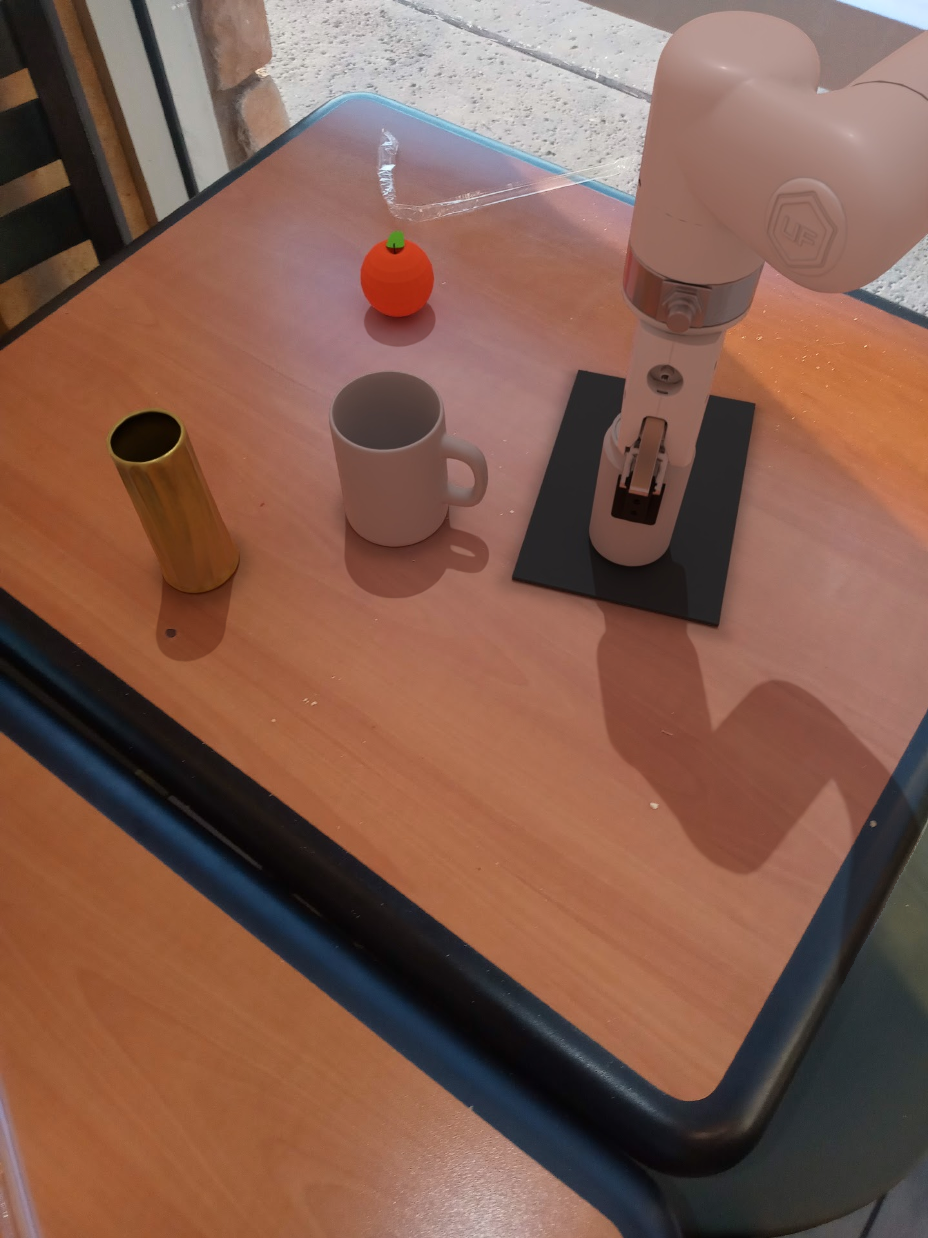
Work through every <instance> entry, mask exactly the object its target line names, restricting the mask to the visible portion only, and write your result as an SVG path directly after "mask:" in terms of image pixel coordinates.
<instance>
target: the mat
mask: <svg viewBox="0 0 928 1238" xmlns="http://www.w3.org/2000/svg"><path fill="white" fill-rule="evenodd" d="M625 382H626V377H620V376H614V375H609V374H606V373H605V374H604V373H600V372H593V371H589V370H583V369H578V370H577V373H576V376H575V379H574V382H573V385H572V389H571V391H570V395H569V398H568V401H567V404H566V407H565V410H564V413H563V417H562V419H561V423H560V426H559V429H558V432H557V435H556V438H555V441H554V444H553V447H552V451H551V454H550V456H549V460H548V463H547V466H546V470H545V473H544V475H543V479H542V482H541V485H540V488H539V490H538V494H537V498H536V501H535V504H534V506H533V510H532V513H531V516H530V519H529V522H528V525H527V529H526V532H525V534H524V538H523V542H522V544H521V548H520V549H519V550H520V551H519V554H518V557H517V560H516V562H515V566H514V569H513V572H512V575H511V580H513V581H518V582H522V583H526V584H530V585H535V586H539V587H544V588H548V589H552V590H557V591H560V592H565V593H570V594H574V595H579V596H582V597H586V598H590V599H595V600H599V601H604V602H609V603H613V604H616V605H622V606H626V607H630V608H634V609H639V610H643V611H647V612H651V613H656V614H660V615H664V616H669V617H673V618H677V619H681V620H685V621H691V622H695V623H699V624H703V625H706V626H707V625H708V626H712V627H715V628H716V627H717V628H718V627H719V625H720V620H721V615H722V610H723V609H722V608H723V603H724V597H725V589H726V584H727V578H728V573H729V567H730V560H731V555H732V550H733V549H732V548H733V542H734V537H735V531H736V524H737V519H738V514H739V513H738V512H739V507H740V501H741V494H742V488H743V484H744V483H743V482H744V476H745V471H746V464H747V459H748V453H749V447H750V440H751V435H752V428H753V423H754V417H755V410H756V402H750V401H745V400H740V399H735V398H730V397H725V396H719V395H714V394H710V395H709V398H708V402H707V405H706V409H705V412H704V416H703V420H702V423H701V427H700V431H699V434H698V438H697V441H696V445H695V447H696V453H695V458H694V461H693V465H692V468H691V472H690V475H689V478H688V482H687V485H686V489H685V492H684V496H683V499H682V502H681V506H680V509H679V513H678V516H677V519H676V523H675V526H674V530H673V533H672V537H671V540H670V543H669V546H668V548H667V550H666V551H665V553H664V554H663V555H662V556H661V557H660V558H658V559H657V560H655V561H654V562H651V563H649V564H646V565H641V566H625V565H620V564H617V563H614V562H612V561H610V560H608V559H606V558H605V557H603V556H602V555H601V554H600V553H599V552H598V551H597V550H596V549H595V547H594V546H593V544H592V541H591V539H590V535H589V526H590V520H591V514H592V508H593V502H594V496H595V490H596V484H597V478H598V472H599V466H600V460H601V454H602V448H603V442H604V437H605V434H606V432H607V430H608V429H609V428H610V427H611V425H612V424H613V422H614V420H615V418H616V417H617V416H618V415H619V414H620V413H621V410H622V403H623V395H624V388H625Z"/></svg>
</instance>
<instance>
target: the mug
mask: <svg viewBox="0 0 928 1238" xmlns="http://www.w3.org/2000/svg"><path fill="white" fill-rule="evenodd" d="M329 405H330V406H329V410H328V423H329V424H328V425H329V429H330V435H331V439H332V446H333V451H334V456H335V462H336V467H337V471H338V472H337V473H338V478H339V483H340V488H341V494H342V495H341V496H342V501H343V509H344V512H345V517H346V520H347V522H348V523H349V525H350V526H351V528H352V529H353V530H354V531H355V533H356V534H357V535H359V536H360V537H361V538H363V539H364V540H366V541H368V542H370V543H372V544H375V545H379V546H384V547H392V548H394V547H395V548H396V547H397V548H398V547H406V546H411V545H414V544H417V543H420V542H422V541H424V540H426V539H427V538H429V537H431V536H432V535H433V534H434V533H436V532H437V530H439V529H440V527H441V526H442V525H443V523H444V522H445V519H446V517H447V514H448V512H449V511H448V510H449V505H450V506H455V507H460V508H473V507H475V506H477V505H479V504H480V503H481V502H482V500H483V499H484V497H485V496H486V495H485V494H486V492H487V487H488V484H489V469H488V468H489V467H488V464H487V459H486V457H485V455H484V453H483V451H482V450H481V449H480V448H479V446H477V445H476V444H474V443H472V442H470V441H469V440H465V439H463V438H461V437H456V436H454V435H450V434H448V433H447V424H446V412H445V406H444V405H445V404H444V402H443V399H442V396H441V395H440V393H439V391H438V390H437V389H436V388H435V386H434V385H432V384H431V383H430V382H429V381H428V380H426V379H425V378H422V377H421V376H419V375H417V374H414V373H411V372H407V371H403V370H391V369H389V370H386V369H385V370H377V371H372V372H367V373H364V374H362V375H360V376H357V377H355V378H353V379H351V380H350V381H349V382H346V384H344V385H343V386H342V387H340V389H339V390H337V392H336V393H335V394H334V396H333V398H332V400H331V403H330V404H329ZM448 459H452V460H457V461H460V462H462V463H465V464H466V465H467V466H468V467H469V468H470V470H471V471H472V474H473V478H474V482H473V483H474V484H473V486H472V487H464V486H460V485H457V484H454V483H452V482H451V481H449V472H448Z"/></svg>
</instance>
